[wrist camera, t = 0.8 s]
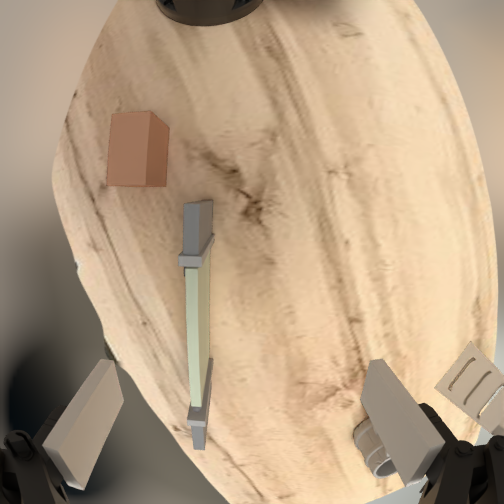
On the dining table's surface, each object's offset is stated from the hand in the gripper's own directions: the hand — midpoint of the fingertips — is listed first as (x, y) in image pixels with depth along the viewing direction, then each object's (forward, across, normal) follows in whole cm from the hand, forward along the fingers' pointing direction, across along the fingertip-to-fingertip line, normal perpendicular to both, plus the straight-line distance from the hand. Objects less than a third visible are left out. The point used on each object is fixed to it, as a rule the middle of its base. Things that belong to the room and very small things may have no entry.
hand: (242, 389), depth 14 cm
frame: (+22, -4, -4) cm, 23 cm away
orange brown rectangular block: (+22, -11, +13) cm, 28 cm away
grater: (+22, +41, -21) cm, 51 cm away
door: (+22, -5, -4) cm, 23 cm away
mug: (+22, +22, -27) cm, 41 cm away
